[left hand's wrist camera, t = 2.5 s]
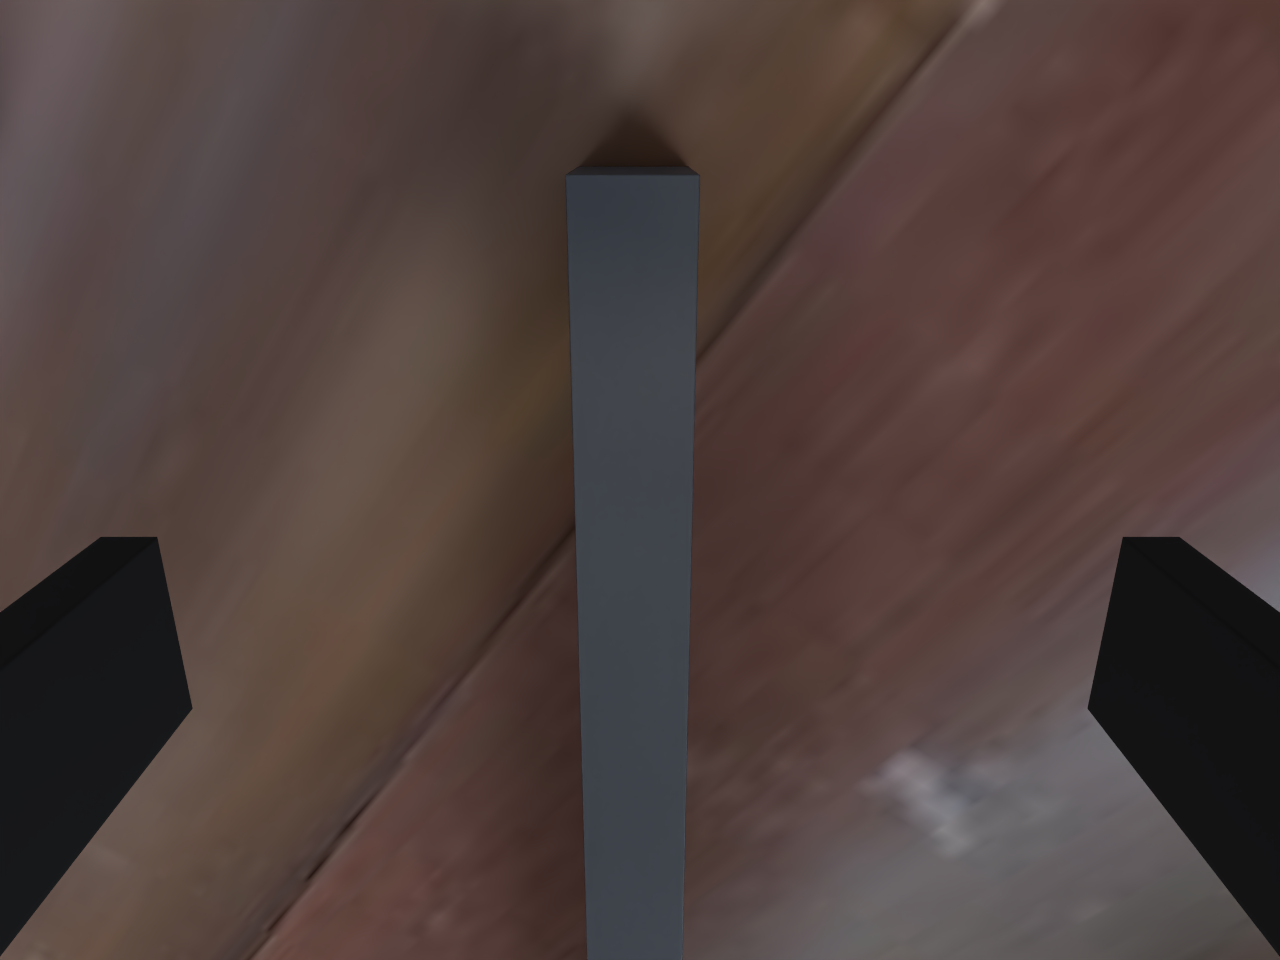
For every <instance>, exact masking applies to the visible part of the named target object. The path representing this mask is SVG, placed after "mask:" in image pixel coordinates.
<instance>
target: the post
mask: <svg viewBox="0 0 1280 960" xmlns="http://www.w3.org/2000/svg"><path fill="white" fill-rule="evenodd" d="M565 177H566V213H567V249H568V285H569V321H570V357H571V393H572V429H573V465H574V501H575V537H576V573H577V609H578V645H579V681H580V717H581V753H582V789H583V826H584V862H585V898H586V934H587V960H682V955H683V910H684V865H685V821H686V776H687V731H688V686H689V641H690V596H691V551H692V506H693V461H694V417H695V372H696V327H697V282H698V237H699V192H700V175H699V174H698V173H696V172H695V171H693V170H692V169H691V168H689V167H577V168H576V169H574V170H573V171H571V172H570V173H568V174H566V176H565Z"/></svg>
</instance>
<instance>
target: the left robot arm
mask: <svg viewBox="0 0 1280 960" xmlns="http://www.w3.org/2000/svg"><path fill="white" fill-rule="evenodd" d="M191 710H192V704H191V699H190V694H189V689H188V685H187V680H186V675H185V670H184V665H183V660H182V655H181V651H180V646H179V641H178V636H177V631H176V626H175V622H174V617H173V612H172V607H171V602H170V597H169V592H168V588H167V583H166V578H165V573H164V568H163V563H162V558H161V554H160V549H159V544H158V539H157V537H100V538H99V539H97V540H96V541H95V542H93V543H92V544H91V545H89V546H88V547H87V548H85V549H84V550H83V551H81V552H80V553H79V554H77V555H76V556H75V557H73V558H72V559H71V560H69V561H68V562H67V563H65V564H64V565H63V566H61V567H60V568H59V569H57V570H56V571H55V572H53V573H52V574H51V575H50V576H48V577H47V578H46V579H44V580H43V581H42V582H40V583H39V584H38V585H36V586H35V587H34V588H32V589H31V590H30V591H28V592H27V593H26V594H24V595H23V596H22V597H20V598H19V599H18V600H16V601H15V602H14V603H12V604H11V605H10V606H8V607H7V608H6V609H4V610H3V611H2V612H0V956H1V955H2V953H3V952H4V951H5V949H6V948H7V947H8V946H9V944H10V943H11V942H12V940H13V939H14V938H15V937H16V935H17V934H18V933H19V931H20V930H21V929H22V928H23V926H24V925H25V924H26V922H27V921H28V920H29V919H30V917H31V916H32V915H33V913H34V912H35V911H36V910H37V908H38V907H39V906H40V904H41V903H42V902H43V901H44V899H45V898H46V897H47V895H48V894H49V893H50V891H51V890H52V889H53V888H54V886H55V885H56V884H57V882H58V881H59V880H60V879H61V877H62V876H63V875H64V873H65V872H66V871H67V870H68V868H69V867H70V866H71V864H72V863H73V862H74V861H75V859H76V858H77V857H78V855H79V854H80V853H81V852H82V850H83V849H84V848H85V846H86V845H87V844H88V843H89V841H90V840H91V839H92V837H93V836H94V835H95V833H96V832H97V831H98V830H99V828H100V827H101V826H102V824H103V823H104V822H105V821H106V819H107V818H108V817H109V815H110V814H111V813H112V812H113V810H114V809H115V808H116V806H117V805H118V804H119V803H120V801H121V800H122V799H123V797H124V796H125V795H126V794H127V792H128V791H129V790H130V788H131V787H132V786H133V785H134V783H135V782H136V781H137V779H138V778H139V777H140V775H141V774H142V773H143V772H144V770H145V769H146V768H147V766H148V765H149V764H150V763H151V761H152V760H153V759H154V757H155V756H156V755H157V754H158V752H159V751H160V750H161V748H162V747H163V746H164V745H165V743H166V742H167V741H168V739H169V738H170V737H171V736H172V734H173V733H174V732H175V730H176V729H177V728H178V727H179V725H180V724H181V723H182V721H183V720H184V719H185V717H186V716H187V715H188V714H189V712H190V711H191ZM1088 710H1089V711H1090V712H1091V714H1092V715H1093V716H1094V717H1095V719H1096V720H1097V721H1098V723H1099V724H1100V725H1101V727H1102V728H1103V729H1104V730H1105V732H1106V733H1107V734H1108V736H1109V737H1110V738H1111V739H1112V741H1113V742H1114V743H1115V745H1116V746H1117V747H1118V748H1119V750H1120V751H1121V752H1122V754H1123V755H1124V756H1125V757H1126V759H1127V760H1128V761H1129V763H1130V764H1131V765H1132V766H1133V768H1134V769H1135V770H1136V772H1137V773H1138V774H1139V775H1140V777H1141V778H1142V779H1143V781H1144V782H1145V783H1146V785H1147V786H1148V787H1149V788H1150V790H1151V791H1152V792H1153V794H1154V795H1155V796H1156V797H1157V799H1158V800H1159V801H1160V803H1161V804H1162V805H1163V806H1164V808H1165V809H1166V810H1167V812H1168V813H1169V814H1170V815H1171V817H1172V818H1173V819H1174V821H1175V822H1176V823H1177V824H1178V826H1179V827H1180V828H1181V830H1182V831H1183V832H1184V833H1185V835H1186V836H1187V837H1188V839H1189V840H1190V841H1191V843H1192V844H1193V845H1194V846H1195V848H1196V849H1197V850H1198V852H1199V853H1200V854H1201V855H1202V857H1203V858H1204V859H1205V861H1206V862H1207V863H1208V864H1209V866H1210V867H1211V868H1212V870H1213V871H1214V872H1215V873H1216V875H1217V876H1218V877H1219V879H1220V880H1221V881H1222V882H1223V884H1224V885H1225V886H1226V888H1227V889H1228V890H1229V891H1230V893H1231V894H1232V895H1233V897H1234V898H1235V899H1236V901H1237V902H1238V903H1239V904H1240V906H1241V907H1242V908H1243V910H1244V911H1245V912H1246V913H1247V915H1248V916H1249V917H1250V919H1251V920H1252V921H1253V922H1254V924H1255V925H1256V926H1257V928H1258V929H1259V930H1260V931H1261V933H1262V934H1263V935H1264V937H1265V938H1266V939H1267V940H1268V942H1269V943H1270V944H1271V946H1272V947H1273V948H1274V949H1275V951H1276V952H1277V953H1278V955H1279V956H1280V612H1278V611H1277V610H1276V609H1274V608H1273V607H1272V606H1270V605H1269V604H1268V603H1266V602H1265V601H1264V600H1262V599H1261V598H1260V597H1258V596H1257V595H1256V594H1254V593H1253V592H1252V591H1250V590H1249V589H1248V588H1246V587H1245V586H1244V585H1242V584H1241V583H1240V582H1238V581H1237V580H1236V579H1234V578H1233V577H1232V576H1230V575H1229V574H1228V573H1227V572H1225V571H1224V570H1223V569H1221V568H1220V567H1219V566H1217V565H1216V564H1215V563H1213V562H1212V561H1211V560H1209V559H1208V558H1207V557H1205V556H1204V555H1203V554H1201V553H1200V552H1199V551H1197V550H1196V549H1195V548H1193V547H1192V546H1191V545H1189V544H1188V543H1187V542H1185V541H1184V540H1183V539H1181V538H1180V537H1123V539H1122V544H1121V549H1120V554H1119V558H1118V563H1117V568H1116V573H1115V578H1114V583H1113V588H1112V592H1111V597H1110V602H1109V607H1108V612H1107V617H1106V622H1105V626H1104V631H1103V636H1102V641H1101V646H1100V651H1099V655H1098V660H1097V665H1096V670H1095V675H1094V680H1093V685H1092V689H1091V694H1090V699H1089V704H1088Z"/></svg>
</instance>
